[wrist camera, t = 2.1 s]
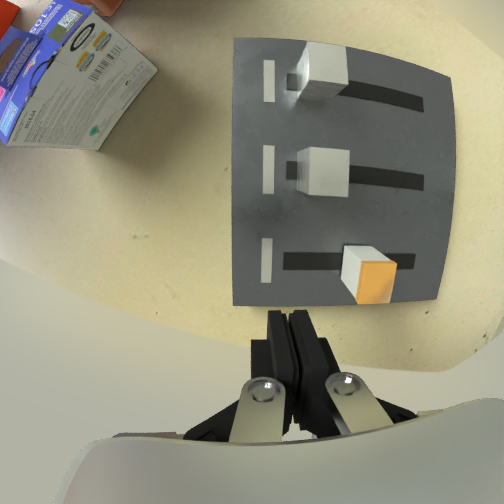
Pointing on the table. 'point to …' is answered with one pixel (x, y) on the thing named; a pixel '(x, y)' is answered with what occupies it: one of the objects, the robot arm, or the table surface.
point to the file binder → (6, 16)
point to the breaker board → (362, 201)
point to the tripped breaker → (368, 274)
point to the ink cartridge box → (68, 80)
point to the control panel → (101, 6)
